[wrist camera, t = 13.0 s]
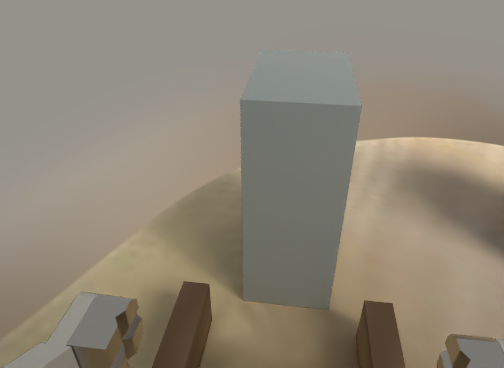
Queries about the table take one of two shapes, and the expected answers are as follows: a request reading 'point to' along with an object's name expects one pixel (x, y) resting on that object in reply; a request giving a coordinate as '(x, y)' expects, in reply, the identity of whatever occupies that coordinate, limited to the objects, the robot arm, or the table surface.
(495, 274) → the table surface
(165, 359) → the walnut cradle
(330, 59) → the tall grey rectangular block
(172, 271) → the table surface
